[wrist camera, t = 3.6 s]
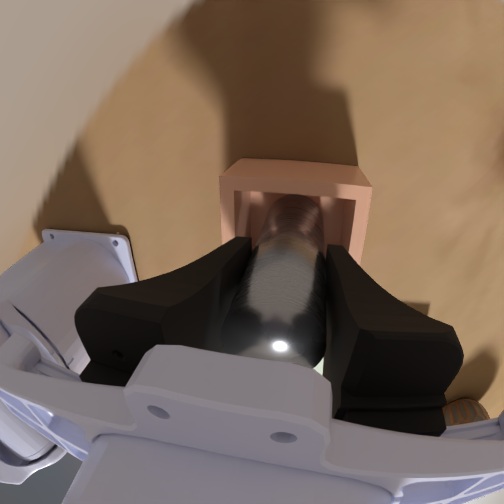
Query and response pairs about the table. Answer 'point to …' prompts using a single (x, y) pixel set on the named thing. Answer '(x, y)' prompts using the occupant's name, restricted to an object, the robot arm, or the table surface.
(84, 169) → the table surface
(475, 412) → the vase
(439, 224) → the table surface
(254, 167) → the salmon open box
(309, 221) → the dowel
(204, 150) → the table surface
